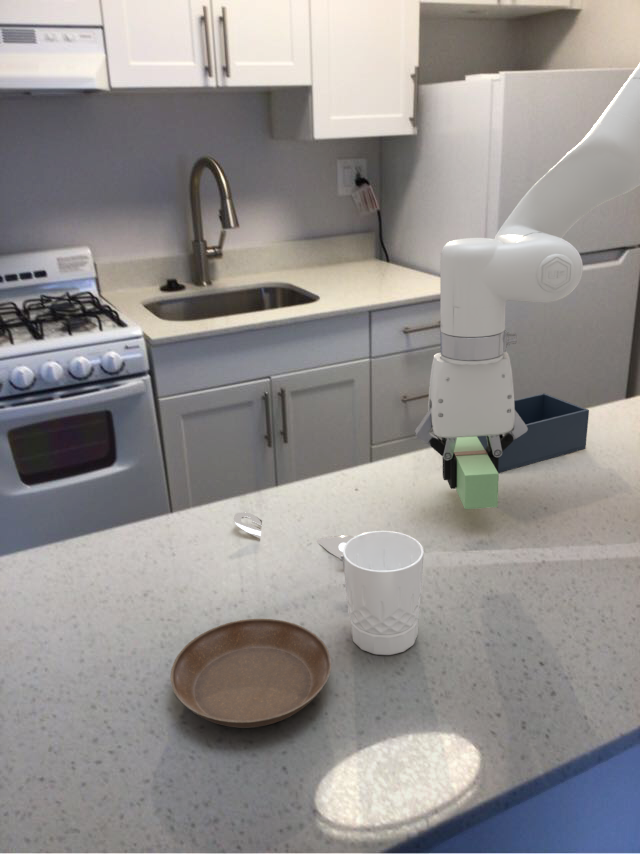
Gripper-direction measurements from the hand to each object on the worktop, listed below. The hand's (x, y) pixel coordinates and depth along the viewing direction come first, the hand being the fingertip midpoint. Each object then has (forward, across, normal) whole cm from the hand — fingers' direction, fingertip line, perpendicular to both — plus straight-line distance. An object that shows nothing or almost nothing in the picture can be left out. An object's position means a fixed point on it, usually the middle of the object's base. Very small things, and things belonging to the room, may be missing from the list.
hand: (470, 481), depth 97 cm
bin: (+6, -12, -23) cm, 27 cm away
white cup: (+6, +14, +23) cm, 27 cm away
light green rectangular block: (+1, 0, 0) cm, 1 cm away
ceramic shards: (+6, +22, +4) cm, 24 cm away
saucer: (+6, +27, +30) cm, 41 cm away
